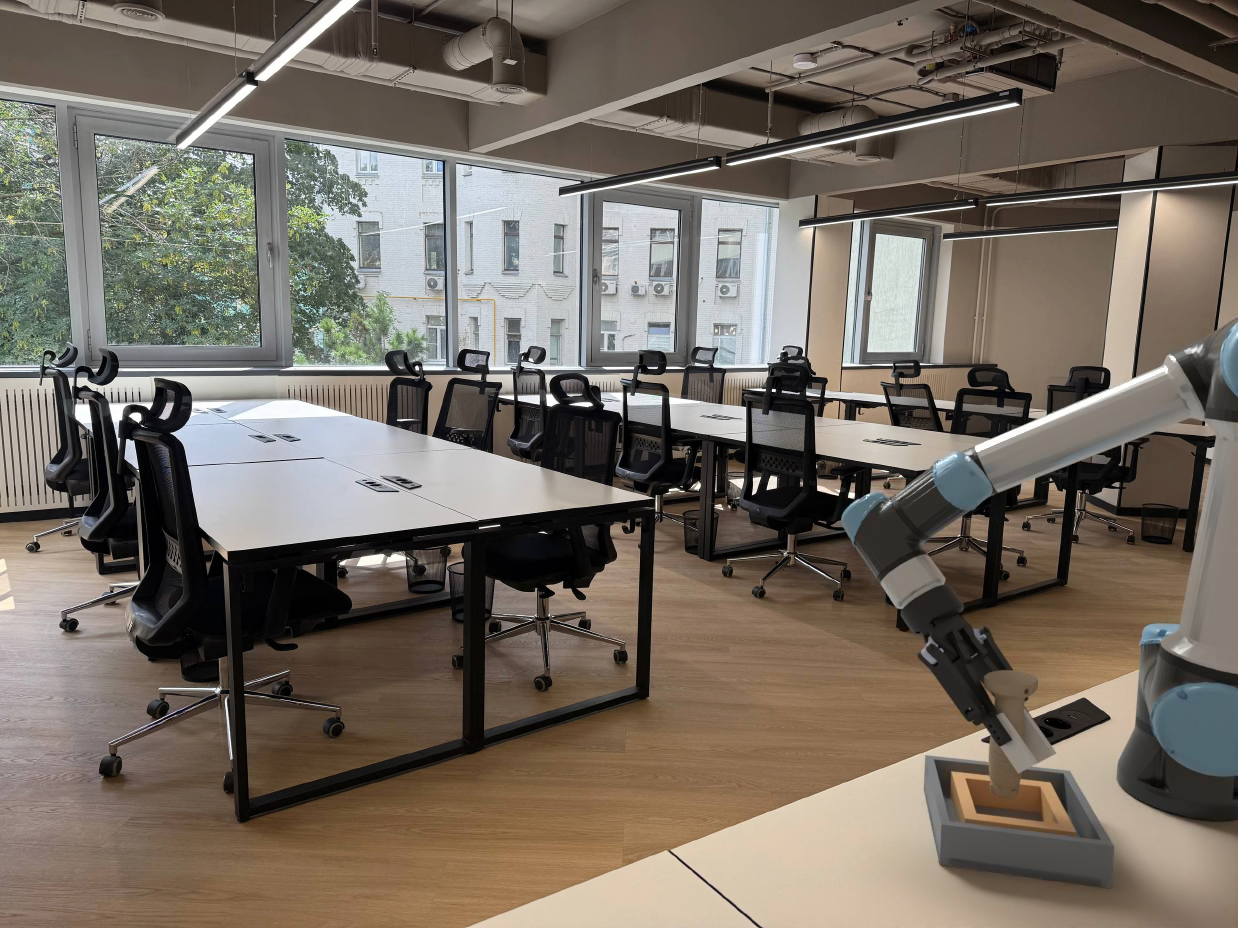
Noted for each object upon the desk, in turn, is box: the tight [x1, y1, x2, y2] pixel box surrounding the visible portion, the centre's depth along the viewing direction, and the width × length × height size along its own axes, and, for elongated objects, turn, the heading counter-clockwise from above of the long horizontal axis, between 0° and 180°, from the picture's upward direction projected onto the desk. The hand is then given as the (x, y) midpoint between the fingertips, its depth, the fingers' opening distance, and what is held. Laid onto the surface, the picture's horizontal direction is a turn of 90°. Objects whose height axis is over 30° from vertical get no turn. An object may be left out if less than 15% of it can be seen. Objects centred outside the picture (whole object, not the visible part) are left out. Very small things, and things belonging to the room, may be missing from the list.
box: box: [923, 754, 1115, 889], centre depth 104 cm, size 18×18×5 cm
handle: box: [983, 669, 1039, 799], centre depth 103 cm, size 5×6×15 cm
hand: (1037, 762), depth 100 cm, fingers closed on handle, 3 cm apart
